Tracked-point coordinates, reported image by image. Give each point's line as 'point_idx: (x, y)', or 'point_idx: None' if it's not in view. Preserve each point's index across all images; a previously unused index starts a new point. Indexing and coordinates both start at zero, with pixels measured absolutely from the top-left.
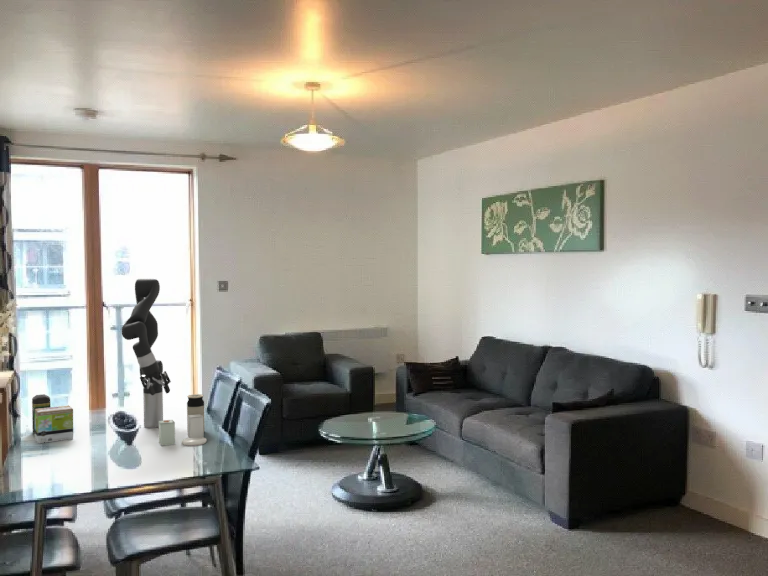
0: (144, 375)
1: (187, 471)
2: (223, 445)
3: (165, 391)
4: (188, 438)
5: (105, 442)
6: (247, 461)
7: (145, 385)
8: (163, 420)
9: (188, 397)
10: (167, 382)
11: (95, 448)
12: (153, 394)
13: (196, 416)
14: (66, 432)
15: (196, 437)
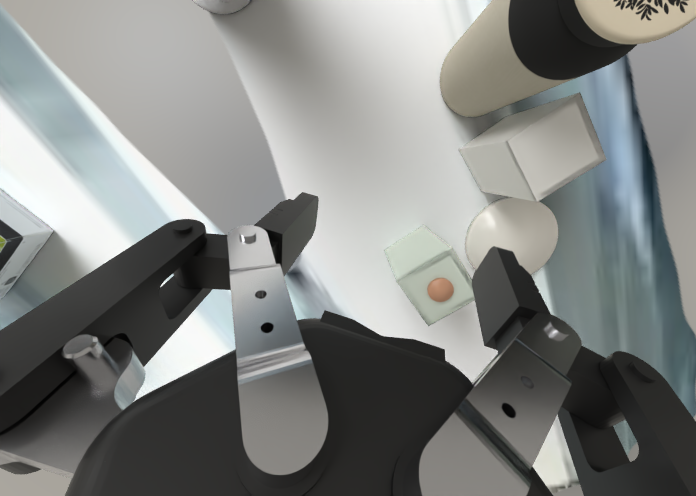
0: (36, 463)
1: (549, 461)
2: (617, 261)
3: (476, 297)
4: (486, 221)
5: None
6: (693, 396)
7: (201, 293)
8: (415, 270)
9: (587, 25)
10: (609, 432)
11: (219, 324)
12: (313, 224)
13: (567, 167)
14: (13, 253)
15: (513, 204)
